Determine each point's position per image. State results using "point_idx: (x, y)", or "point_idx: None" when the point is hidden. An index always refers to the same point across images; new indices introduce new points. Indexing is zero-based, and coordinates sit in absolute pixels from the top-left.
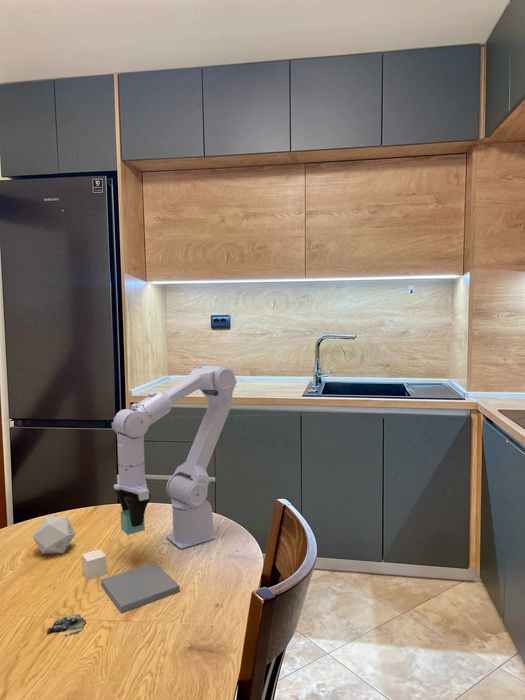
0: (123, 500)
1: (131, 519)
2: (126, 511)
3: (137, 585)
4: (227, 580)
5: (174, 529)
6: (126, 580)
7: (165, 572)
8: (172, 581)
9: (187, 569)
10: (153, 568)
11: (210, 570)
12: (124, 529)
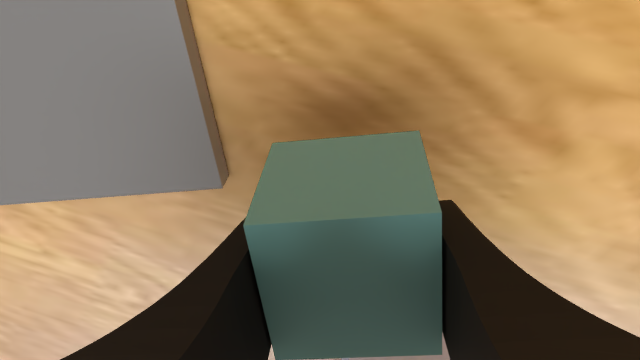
0: (477, 334)
1: (221, 244)
2: (403, 259)
3: (13, 51)
4: (34, 337)
5: (415, 357)
6: (81, 12)
7: (105, 195)
8: (17, 195)
9: (158, 269)
10: (161, 163)
11: (120, 324)
12: (334, 147)
